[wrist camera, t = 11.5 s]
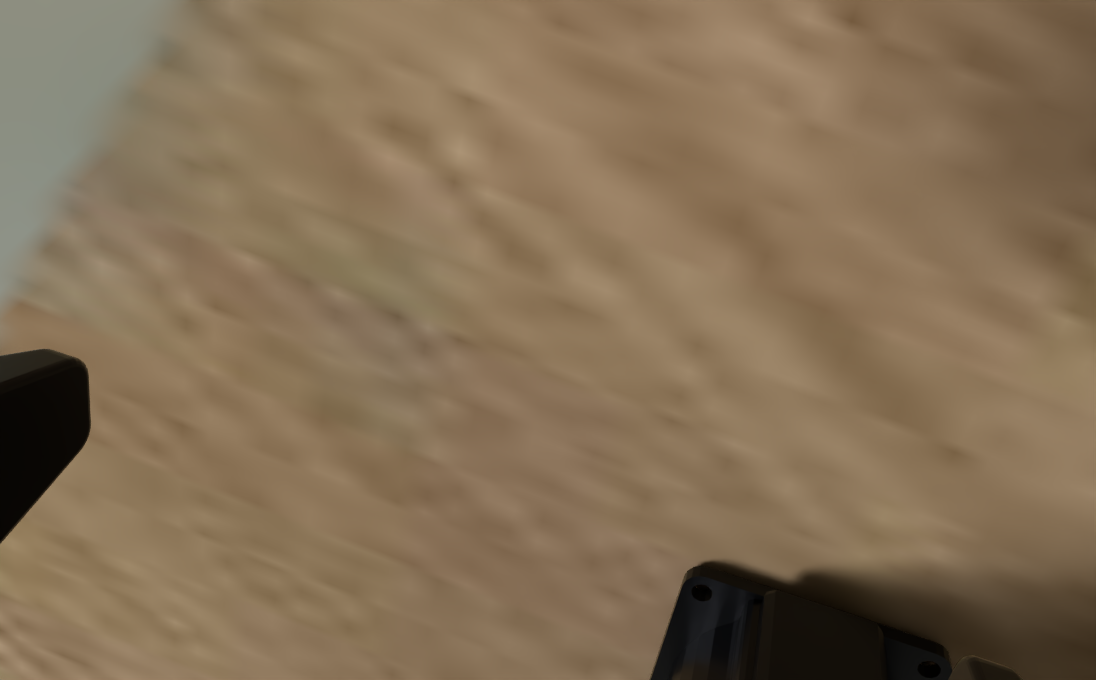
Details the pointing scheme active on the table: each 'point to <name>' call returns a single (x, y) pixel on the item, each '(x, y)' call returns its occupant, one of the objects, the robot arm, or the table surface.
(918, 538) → the table surface
